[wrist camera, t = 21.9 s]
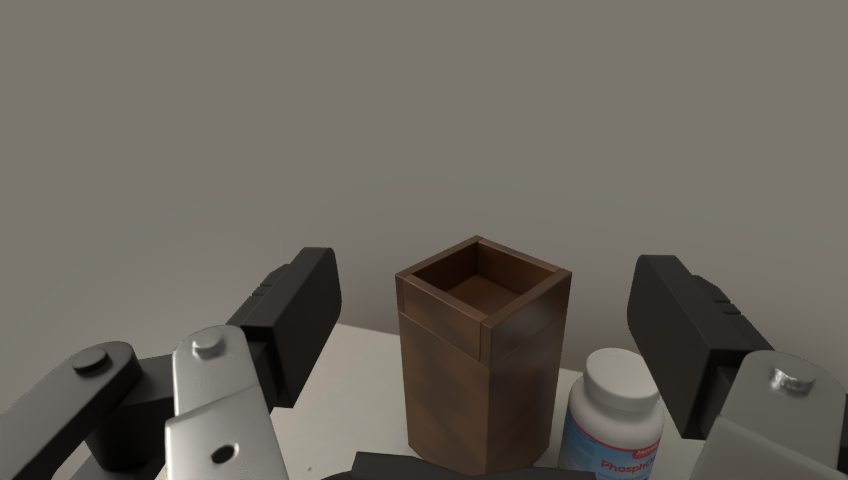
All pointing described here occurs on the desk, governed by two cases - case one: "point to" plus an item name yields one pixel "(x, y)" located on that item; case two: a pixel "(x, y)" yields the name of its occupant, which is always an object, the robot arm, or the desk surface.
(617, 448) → the pill bottle
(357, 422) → the desk surface
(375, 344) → the desk surface
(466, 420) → the can holder
